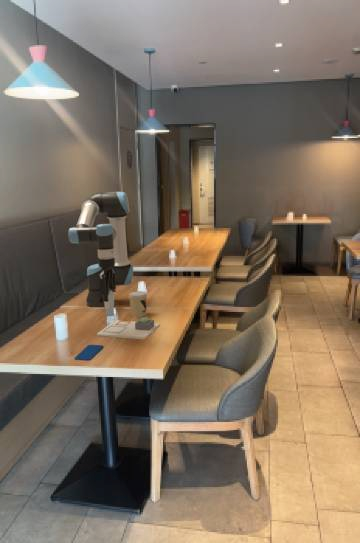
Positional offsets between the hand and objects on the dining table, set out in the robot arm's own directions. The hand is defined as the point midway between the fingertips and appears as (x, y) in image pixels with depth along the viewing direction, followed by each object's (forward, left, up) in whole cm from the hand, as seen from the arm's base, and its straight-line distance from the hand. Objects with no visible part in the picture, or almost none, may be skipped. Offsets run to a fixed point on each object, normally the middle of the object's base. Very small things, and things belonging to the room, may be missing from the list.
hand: (109, 306), depth 212 cm
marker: (0, 0, -4) cm, 4 cm away
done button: (+14, +7, -10) cm, 19 cm away
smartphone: (+2, -26, -13) cm, 29 cm away
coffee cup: (+2, +28, -13) cm, 31 cm away
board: (+7, +4, -13) cm, 15 cm away
